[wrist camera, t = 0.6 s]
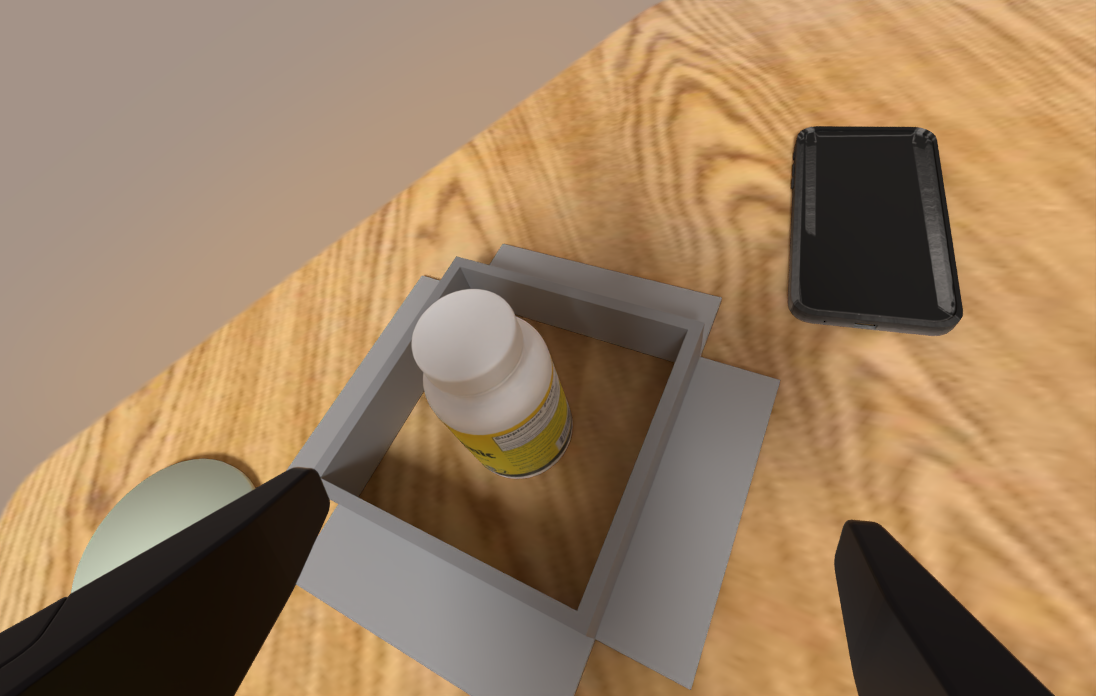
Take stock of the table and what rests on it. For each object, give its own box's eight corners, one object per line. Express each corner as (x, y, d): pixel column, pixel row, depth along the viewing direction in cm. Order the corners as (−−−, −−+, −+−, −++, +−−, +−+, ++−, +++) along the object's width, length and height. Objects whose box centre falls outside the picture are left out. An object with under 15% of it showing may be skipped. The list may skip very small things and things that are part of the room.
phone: (935, 127, 31) (966, 329, 24) (926, 142, 32) (954, 342, 25) (795, 126, 34) (788, 311, 27) (792, 140, 35) (783, 323, 28)
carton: (655, 810, 18) (655, 840, 15) (238, 546, 26) (186, 531, 23) (797, 319, 27) (814, 278, 24) (454, 234, 35) (435, 195, 32)
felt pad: (161, 711, 23) (151, 712, 22) (42, 607, 27) (32, 606, 26) (299, 503, 27) (294, 500, 26) (180, 436, 31) (173, 433, 30)
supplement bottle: (456, 420, 28) (372, 319, 20) (540, 367, 29) (493, 249, 20) (502, 504, 25) (426, 427, 17) (594, 443, 26) (565, 341, 17)
